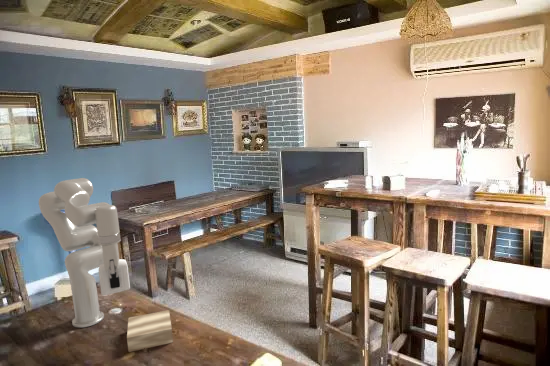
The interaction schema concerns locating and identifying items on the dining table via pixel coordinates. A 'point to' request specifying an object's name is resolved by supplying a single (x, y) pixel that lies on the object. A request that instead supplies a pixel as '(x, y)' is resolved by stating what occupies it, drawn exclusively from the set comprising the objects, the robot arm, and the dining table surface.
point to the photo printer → (123, 278)
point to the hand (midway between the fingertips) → (115, 284)
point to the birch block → (149, 330)
